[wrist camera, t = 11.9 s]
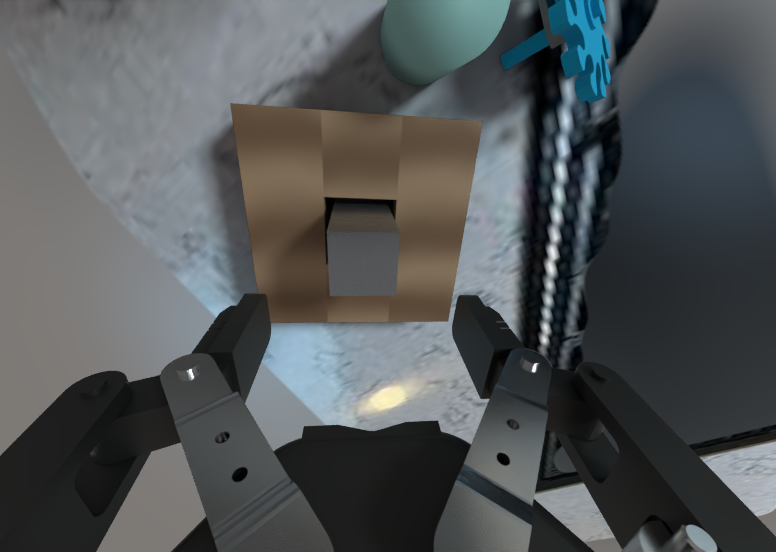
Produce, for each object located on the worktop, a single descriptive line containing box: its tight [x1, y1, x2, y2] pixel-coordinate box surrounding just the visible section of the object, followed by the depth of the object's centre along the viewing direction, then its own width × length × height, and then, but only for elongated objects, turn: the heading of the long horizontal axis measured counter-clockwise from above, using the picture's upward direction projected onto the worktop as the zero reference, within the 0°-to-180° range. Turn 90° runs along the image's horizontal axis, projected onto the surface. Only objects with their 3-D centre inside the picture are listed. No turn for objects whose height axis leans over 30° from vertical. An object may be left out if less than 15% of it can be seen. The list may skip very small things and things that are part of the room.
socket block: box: [230, 103, 483, 323], centre depth 25 cm, size 16×16×4 cm
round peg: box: [380, 0, 510, 85], centre depth 18 cm, size 6×6×8 cm
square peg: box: [327, 197, 400, 296], centre depth 22 cm, size 4×4×10 cm
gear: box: [501, 0, 610, 103], centre depth 20 cm, size 11×6×10 cm
